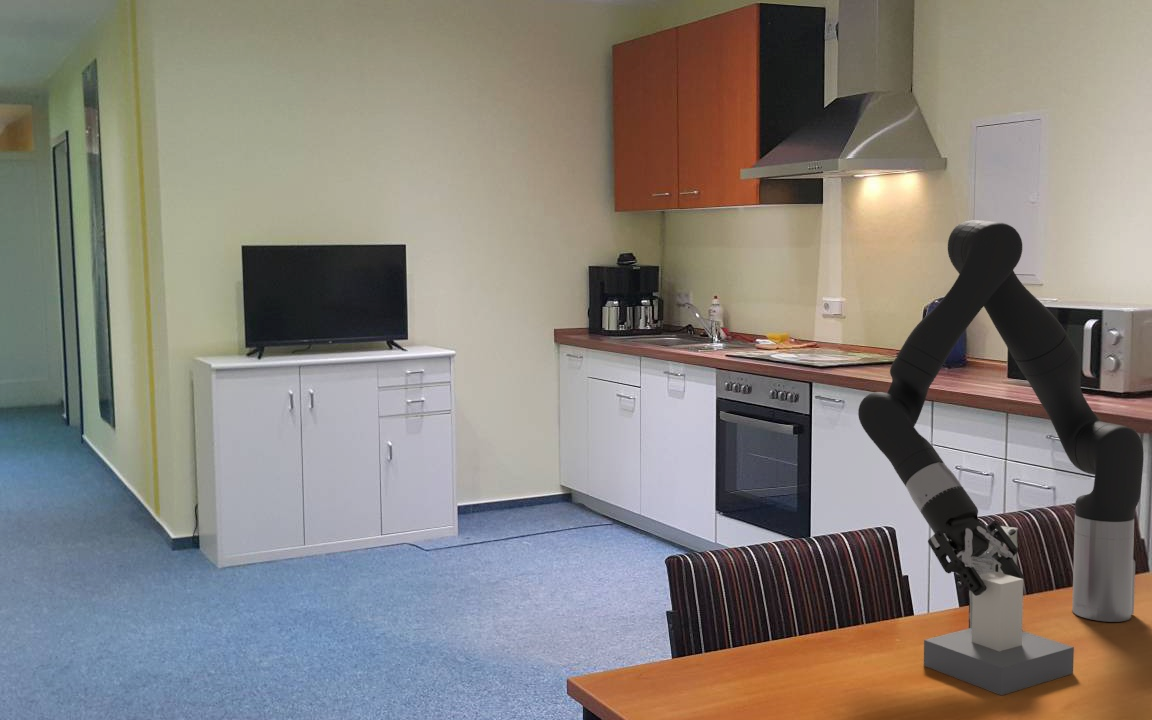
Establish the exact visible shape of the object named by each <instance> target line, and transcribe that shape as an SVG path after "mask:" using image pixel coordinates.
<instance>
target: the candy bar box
mask: <svg viewBox="0 0 1152 720" xmlns="http://www.w3.org/2000/svg"><path fill="white" fill-rule="evenodd" d="M1000 526H1001V527H1002V529H1003V530H1004V531H1005V533H1006V534H1007V535H1008V537H1009V538H1010V539H1011V541H1012V542H1013V543H1014V545H1015V546H1016V547H1017V549H1018V550H1019V548H1018V537H1019V536H1018V532H1019V529H1018V527H1013V526H1012V527H1011V526H1007V525H1000ZM991 546H992V545H991V544H990V543H989V547H988V548H990V547H991ZM1003 547H1004V548H1006V549H1007V550H1008V549H1009V548H1008V547H1007V546H1006V544H1005V543H1004V544H1003ZM987 550H988V549H987ZM995 554H996V555H998V556H999V557H1001V555H1000V554H999V552H996V553H995ZM1013 560H1014V562H1015V563H1016V565H1017V566H1018V553H1016V554H1015V555H1014V556H1013ZM971 567H974V569H975V570H976V572H977V573H978V575H981V574H986V573H991V572H999V573H1003V571H1002V570H1001V568H1000V567H1001V566H1000V565H998V564H997V563H995V562H994V561H992V560H991V559H985V558H984V557H982V556H972V557H971V566H970V568H971ZM1003 574H1004V573H1003ZM972 594H973V592H971V591H970V589H969V588H968V629H969V628H972Z"/></svg>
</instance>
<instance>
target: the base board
mask: <svg viewBox="0 0 1152 720" xmlns="http://www.w3.org/2000/svg"><path fill="white" fill-rule="evenodd" d="M1074 654H1075V647H1074V646H1071V645H1069V644H1065V643H1062V642H1058V641H1056V640H1054V639H1050V638H1046V637H1043V636H1040V635H1036V634H1033V633H1030V632H1028V631H1024V630H1022V645H1021V646H1017V647H1014V648H1010V649H1006V650H1003V651H997V650H994V649H991V648H988V647H985V646H982V645H979V644H976V643H974V642H972V628H969V627H968V628H966V629H961V630H958V631H954V632H950V633H945V634H942V635H938V636H935V637H931V638H926V639H923V666H924V667H926V668H929V669H931V670H934V671H936V672H939V673H942V674H943V675H944V674H945V675H946V676H950V677H952V678H955V679H957V680H960V681H962V682H965V683H967V684H971V685H973V686H976V687H978V688H981V689H984V690H986V691H988V692H992V693H994V694H997V695H999V696H1004V695H1008V694H1011V693H1013V692H1018V691H1020V690H1025V689H1027V688H1030V687H1033V686H1037V685H1040V684H1043V683H1046V682H1050V681H1053V680H1056V679H1059V678H1063V677H1066V676H1070V675H1072V674H1074V659H1075V657H1074V656H1075V655H1074Z"/></svg>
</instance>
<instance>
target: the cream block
mask: <svg viewBox="0 0 1152 720" xmlns="http://www.w3.org/2000/svg"><path fill="white" fill-rule="evenodd" d="M979 576H980V578H981V579H982V581H983V582H984V584H985V585H986V588H987V589H986V590H985V591H984V592H983V593H982V594H981V595H978V596H975V595H974V594H972V642H974V643H976V644H979V645H982V646H985V647H988V648H991V649H994V650H997V651H1003V650H1006V649H1010V648H1014V647H1017V646H1021V645H1022V631H1023V613H1024V612H1023V610H1024V605H1023V603H1024V582H1023V579H1021V578H1017V577H1014V576H1010V575H1006V574H1003V573H999V572H991V573H986V574H981V575H979Z"/></svg>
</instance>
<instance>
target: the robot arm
mask: <svg viewBox="0 0 1152 720" xmlns="http://www.w3.org/2000/svg"><path fill="white" fill-rule="evenodd" d="M1022 252H1023V240H1022V238H1021V235H1020V233H1019V232H1018V231H1017V229H1016V228H1014V227H1013V226H1012V225H1010V224H1009V223H1006V222H1005V223H1004V222H1000V221H993V220H984V219H983V220H982V219H973V220H972V219H971V220H966V221H963V222H961V223H959V224H958V225H956V226H955V227H954V228H953V229H952V231H951V233H950V235H949V237H948V240H947V254H948V257H949V260H950V263H951V264H952V266H953V267H954V269H955V271H957V273H958V274H959V275H958V277H957V278H956V280H955V281H954V282H953V285H952V286H951V288H950V289H949V291H948V292H947V293H945V294H946V295H945V296H944V297H943V298H941V300H940V302H939V303H937V304H936V305H935V306H934V307H933V308H932V310H930V311H929V312H928V313H927V314H926V315H925V316H924V317H923V318H922V319H921V320H920V321H919V322H918V324H916V326H915V327H913V330H912V331H911V332H910V334H909V335H908V337H907V338H906V340H905V341H904V343H903V345H902V347H901V348H900V350H899V352H898V354H897V355H896V357H895V358H894V360H893V362H892V363H891V366H890V367H889V368H890V369H889V374H890V377H891V378H892V379H891V383H890V386H889V388H888V391H887V392H882V391H876V392H871V393H869V394H867V395H866V396H865V397H864V398H863V399H862V400H861V402H860V404H859V406H858V413H857V414H858V420H859V423H860V424H861V427H862V428H863V430H864V432H865V433H866V434H867V436H868V437H869V438H870V440H871V441H872V442H873V444H875V446H876V447H877V448H878V449H879V450H880V452H881V453H882V454H883V455H884V456H885V458H887V459H888V461H889V462H890V464H891V466H892V467H893V469H894V471H895V473H896V474H897V475H898V477H899V479H900V480H901V482H902V483H903V485H904V486H905V488H906V489H907V492H908V494H909V496H910V498H911V500H912V501H913V503H914V504H915V506H916V507H917V509H918V511H919V512H920V513H921V515H922V516H923V518H924V520H925V521H926V523H927V524H928V526H929V527H930V529H931V530H932V532H933V535H932V536H931V537H930V538H928V540H927V543H928V545H929V547H930V549H931V550H932V552H933V553H934V555H935V557H936V558H937V560H938V562H939V564H940V565H941V567H942V569H943V571H944V572H945V573H946V574H951V573H955V574H956V575H957V576H960V578H961V579H962V580H963V582H964V583H965V585H966V587H967V588H968V590H969V589H970V591H971V592H973V594H974V595H975V596H978V595H981V594H982V593H983V592H984V591H985V590H986V589H987V588H986V585H985V584H984V582H983V581H982V579H981V578H980V576H979V575H978V573H977V572H976V570H975V569H974V567H971V568H970V566H971V557H972V556H982V557H984V558H985V559H991V560H992V561H994V562H995V563H997V564H998V565H1000V566H1001V567H1000V568H1001V570H1002V571H1003V573H1004V574H1006V575H1010V576H1014V577H1017V578H1021V579H1023V583H1024V582H1025V579H1026V578H1025V576H1024V574H1023V572H1022V571H1021V570H1020V568H1019V566H1018V564H1017V565H1016V563H1015V562H1014V560H1013V556H1014V555H1015V554H1016V553H1017V554H1018V553H1019V548H1018V547H1016V546H1015V545H1014V543H1013V542H1012V541H1011V539H1010V538H1009V537H1008V535H1007V534H1006V533H1005V531H1004V530H1003V529H1002V527H1001V526H1002V525H1001V524H1000V523H999V522H998V521H997V520H992V521H991V522H990V523H989V524H983V523H982V522H981V521H980V520H979V518H978V515H979V509H978V507H977V506H976V504H975V502H974V501H973V500H972V498H971V497H970V496H969V494H968V492H967V491H966V490H965V488H964V486H962V484H961V482H960V481H959V480H958V478H957V476H956V475H955V474H954V473H953V472H952V470H951V469H949V467H948V466H947V465H946V464H945V462H944V460H943V459H942V458H941V457H940V455H939V453H938V452H937V450H936V449H935V448H934V446H933V445H932V444H931V443H930V442H929V441H928V440H927V439H926V438H925V437H924V436H922V435H921V434H920V433H919V431H917V429H916V428H915V426H916V424H917V422H918V420H919V417H920V416H921V412H922V410H923V407H924V404H925V402H926V400H927V399H926V398H927V395H928V391H929V389H930V387H931V386H932V384H933V382H934V380H935V379H936V377H937V376H938V374H939V373H940V370H941V369H942V367H943V366H944V364H945V362H946V361H947V359H948V357H949V356H950V354H951V352H952V350H953V349H954V347H955V346H956V344H957V343H958V341H960V338H961V337H962V335H963V334H964V333H965V331H966V330H967V328H968V327H969V325H970V324H971V323H972V322H973V320H974V319H975V317H976V316H978V314H979V312H981V310H982V308H984V309H985V311H986V312H987V314H988V316H989V317H990V319H991V322H992V323H993V326H994V327H995V328H996V330H997V332H998V333H999V335H1000V338H1001V339H1002V341H1003V342H1004V344H1005V346H1006V348H1007V350H1008V352H1009V353H1010V355H1011V357H1012V358H1013V360H1014V361H1015V363H1016V365H1017V366H1018V369H1019V370H1020V372H1021V373H1022V375H1023V376H1024V378H1025V379H1026V381H1027V382H1028V383H1029V384H1028V385H1030V387H1031V388H1032V390H1033V392H1034V394H1035V395H1036V398H1037V399H1038V400H1039V402H1040V404H1041V406H1042V407H1043V409H1044V411H1045V413H1046V414H1047V416H1048V417H1049V419H1050V422H1051V424H1052V425H1053V428H1054V430H1055V432H1056V434H1057V436H1058V439H1059V441H1060V444H1061V446H1062V448H1063V450H1064V452H1065V454H1066V456H1067V458H1068V460H1069V461H1070V462H1071V463H1072V465H1073V466H1074V467H1075V468H1077V470H1079V471H1082V472H1083V473H1087V474H1089V475H1094V481H1093V488H1092V491H1091V492H1090V493H1088V494H1082V495H1080V496H1078V497H1077V498H1076V500H1075V503H1074V535H1073V537H1074V538H1073V540H1074V541H1073V543H1074V544H1073V570H1072V571H1073V573H1072V574H1073V575H1072V577H1073V578H1072V612H1073V614H1075V615H1076V616H1078V617H1081V618H1084V619H1088V620H1093V621H1097V622H1109V623H1114V622H1115V623H1117V622H1118V623H1119V622H1126V621H1128V620H1130V619H1132V615H1134V614H1135V612H1134V611H1135V587H1136V581H1135V579H1136V560H1135V559H1134V543H1135V542H1134V540H1135V539H1134V538H1135V535H1134V533H1135V515H1136V514H1135V512H1136V511H1135V510H1136V509H1137V506H1138V504H1139V502H1140V499H1141V493H1142V480H1143V471H1144V455H1145V454H1144V446H1143V442H1142V439H1141V437H1140V435H1139V434H1138V432H1137V431H1136V430H1134V429H1133V428H1131V427H1129V426H1126V425H1122V424H1118V423H1117V424H1116V423H1112V422H1105V421H1102V420H1101V419H1100V418H1099V417H1098V416H1097V415H1096V414H1095V411H1094V410H1093V409H1092V408H1091V406H1090V405H1089V403H1088V401H1087V400H1086V398H1085V396H1084V394H1083V391H1082V388H1081V384H1082V383H1081V380H1082V379H1081V378H1082V377H1081V375H1082V372H1081V371H1082V366H1081V359H1080V355H1079V352H1078V351H1077V349H1076V347H1075V345H1074V343H1073V341H1072V339H1070V336H1069V335H1068V332H1067V331H1066V329H1065V328H1064V327H1063V325H1062V323H1060V321H1059V320H1058V319H1057V317H1056V316H1055V315H1054V314H1053V313H1052V312H1051V311H1050V310H1049V309H1048V308H1047V307H1046V306H1045V305H1044V303H1042V302H1041V301H1040V300H1039V299H1038V298H1037V297H1036V296H1035V295H1033V294H1032V293H1031V292H1030V291H1029V289H1027V288H1026V287H1025V286H1024V284H1023V283H1022V282H1021V280H1020V279H1019V277H1018V276H1017V274H1016V273H1015V271H1014V270H1015V268H1016V267H1017V265H1018V264H1019V262H1020V260H1021V257H1022ZM989 543H990V544H991V545H992V546H991V547H990V548H988V547H989ZM1004 543H1005V544H1006V546H1007V547H1008V548H1009V549H1008V550H1007V549H1006V548H1004V547H1003V544H1004ZM1017 548H1018V549H1017ZM987 549H988V550H987ZM996 552H999V554H1000V555H1001V557H999V556H998V555H996V554H995V553H996ZM947 557H948V559H949V560H948V559H947Z"/></svg>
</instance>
